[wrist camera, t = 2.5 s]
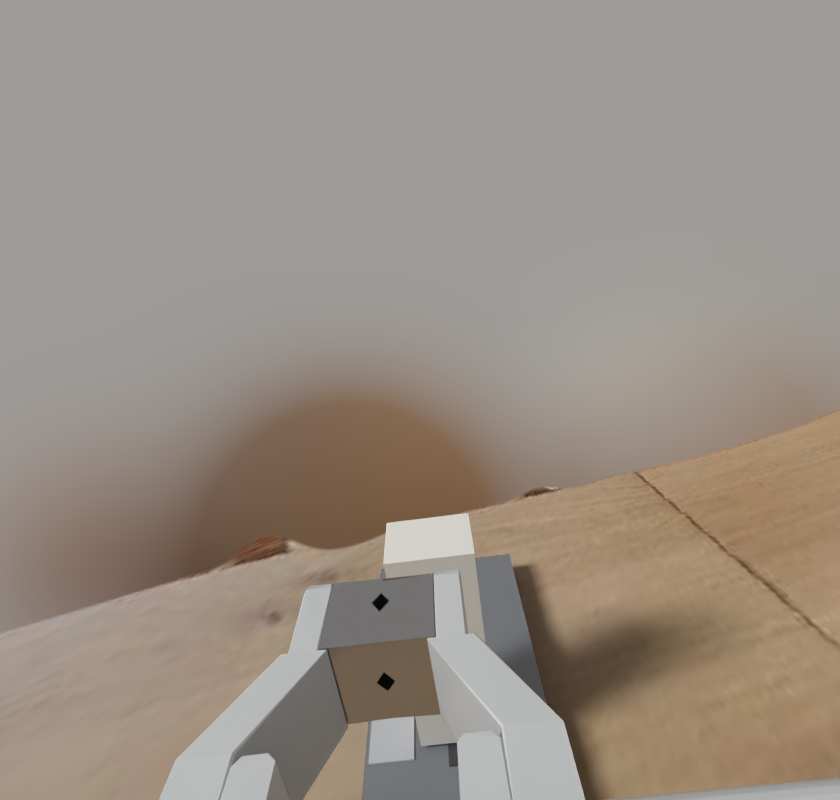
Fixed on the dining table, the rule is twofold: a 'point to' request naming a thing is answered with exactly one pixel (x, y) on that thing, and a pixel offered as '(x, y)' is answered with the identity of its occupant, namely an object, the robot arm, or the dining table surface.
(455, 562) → the switch tab
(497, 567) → the switch panel
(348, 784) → the dining table surface
